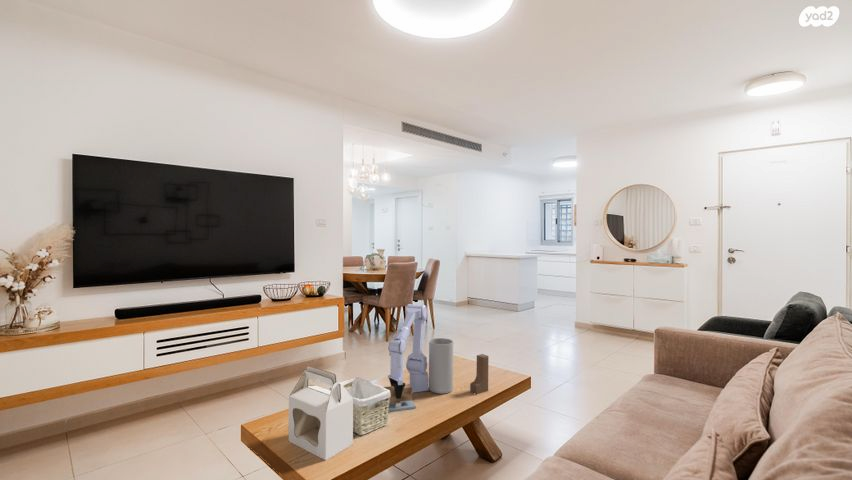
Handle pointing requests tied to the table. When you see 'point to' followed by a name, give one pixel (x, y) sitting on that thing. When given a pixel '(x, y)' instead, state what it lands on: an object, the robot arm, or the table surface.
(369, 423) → the storage basket
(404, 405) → the blue-grey flat rectangular panel
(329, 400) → the gable box
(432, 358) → the cylinder vase
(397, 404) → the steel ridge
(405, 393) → the walnut plank
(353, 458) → the table surface
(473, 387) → the wooden block
